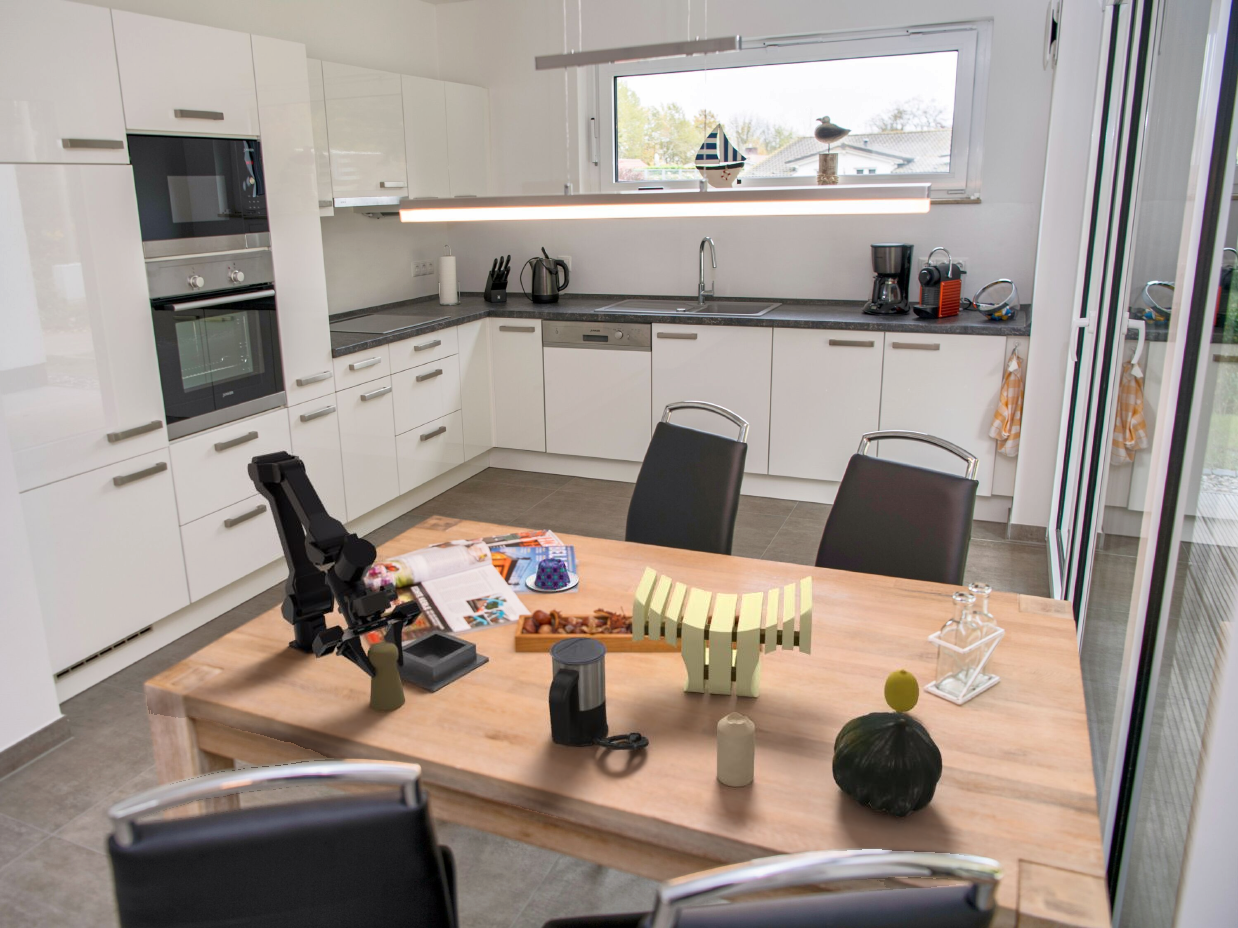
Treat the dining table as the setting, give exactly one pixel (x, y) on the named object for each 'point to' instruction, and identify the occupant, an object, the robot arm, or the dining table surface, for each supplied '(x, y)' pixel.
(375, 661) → the cork
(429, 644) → the collar holder
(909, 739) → the squash
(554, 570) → the pudding
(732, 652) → the slatted curved stool
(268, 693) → the dining table surface
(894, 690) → the lemon
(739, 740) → the candle
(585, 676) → the milk frother
